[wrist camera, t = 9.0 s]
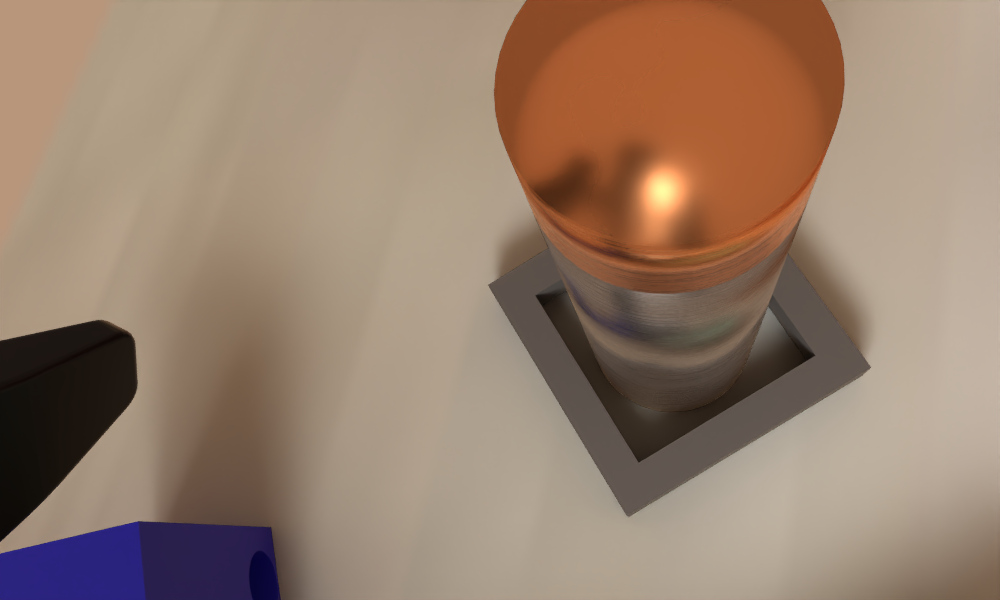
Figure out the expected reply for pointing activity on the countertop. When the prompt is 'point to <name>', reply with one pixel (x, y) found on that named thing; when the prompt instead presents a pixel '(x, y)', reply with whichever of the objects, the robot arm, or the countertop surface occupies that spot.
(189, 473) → the countertop surface
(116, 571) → the cable clip
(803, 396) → the pin collar
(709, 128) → the pin
